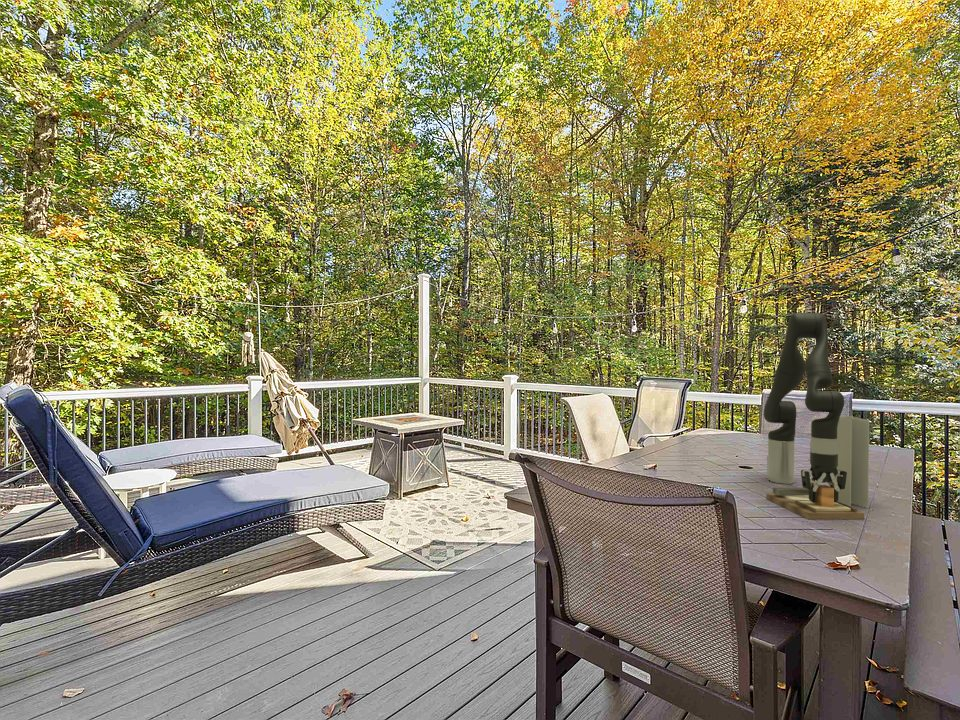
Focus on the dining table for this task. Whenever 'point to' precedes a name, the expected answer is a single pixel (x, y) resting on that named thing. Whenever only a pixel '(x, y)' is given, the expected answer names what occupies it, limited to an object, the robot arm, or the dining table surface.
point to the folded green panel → (854, 460)
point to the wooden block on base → (826, 500)
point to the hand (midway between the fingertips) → (823, 501)
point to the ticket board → (793, 495)
